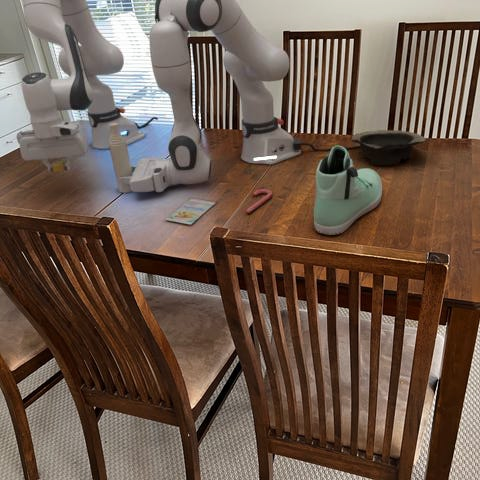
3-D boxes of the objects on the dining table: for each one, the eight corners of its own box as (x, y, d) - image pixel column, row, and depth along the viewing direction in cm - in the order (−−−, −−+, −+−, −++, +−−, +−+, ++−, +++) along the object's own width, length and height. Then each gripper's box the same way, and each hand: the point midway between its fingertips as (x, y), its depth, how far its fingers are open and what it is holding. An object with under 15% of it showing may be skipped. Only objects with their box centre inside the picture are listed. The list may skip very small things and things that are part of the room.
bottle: (119, 186, 164) (105, 122, 152) (136, 184, 164) (123, 120, 152) (117, 193, 159) (103, 127, 147) (134, 191, 159) (121, 125, 147)
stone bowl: (384, 176, 155) (384, 148, 151) (336, 158, 175) (335, 133, 171) (440, 157, 164) (442, 130, 159) (388, 142, 184) (389, 118, 180)
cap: (52, 169, 156) (50, 163, 155) (63, 166, 158) (61, 159, 156) (55, 173, 153) (53, 166, 152) (67, 169, 155) (65, 163, 154)
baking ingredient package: (164, 218, 140) (191, 197, 151) (165, 220, 140) (191, 199, 151) (190, 223, 136) (215, 201, 148) (190, 225, 136) (216, 203, 148)
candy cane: (232, 210, 143) (232, 206, 142) (259, 190, 153) (259, 186, 152) (249, 215, 140) (248, 210, 139) (276, 194, 150) (275, 190, 149)
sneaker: (389, 187, 148) (396, 123, 138) (356, 242, 123) (361, 168, 112) (346, 181, 154) (350, 119, 144) (306, 232, 129) (307, 161, 118)
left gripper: (11, 134, 145) (24, 176, 152) (78, 129, 146) (89, 171, 153) (18, 128, 151) (30, 169, 158) (83, 122, 151) (93, 164, 158)
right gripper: (165, 151, 165) (125, 154, 166) (157, 176, 148) (112, 178, 148) (168, 168, 169) (129, 171, 169) (160, 194, 151) (116, 197, 152)
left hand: (60, 170), depth 155 cm, fingers closed on cap, 3 cm apart
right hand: (121, 175), depth 159 cm, fingers closed on bottle, 5 cm apart
